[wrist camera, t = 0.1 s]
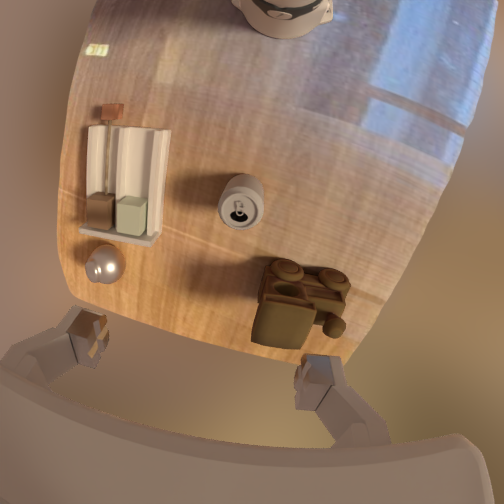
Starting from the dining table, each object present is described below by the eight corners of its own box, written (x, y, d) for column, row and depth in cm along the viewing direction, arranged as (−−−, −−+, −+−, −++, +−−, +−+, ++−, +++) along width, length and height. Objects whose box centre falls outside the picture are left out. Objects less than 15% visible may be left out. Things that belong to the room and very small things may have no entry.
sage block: (127, 195, 56) (116, 203, 52) (149, 198, 56) (140, 207, 52) (126, 222, 59) (117, 231, 54) (148, 226, 59) (139, 236, 54)
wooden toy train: (252, 294, 68) (248, 346, 53) (263, 251, 63) (262, 298, 48) (333, 309, 69) (347, 359, 55) (350, 269, 64) (371, 316, 49)
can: (222, 205, 59) (212, 229, 48) (229, 169, 55) (220, 184, 45) (259, 213, 59) (258, 238, 48) (267, 177, 56) (268, 194, 45)
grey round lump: (100, 231, 62) (78, 251, 53) (134, 246, 64) (116, 269, 55) (95, 262, 66) (75, 284, 57) (127, 277, 68) (111, 301, 59)
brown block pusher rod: (107, 103, 49) (90, 104, 43) (129, 104, 49) (113, 104, 43) (102, 214, 60) (87, 226, 54) (121, 217, 60) (107, 230, 54)
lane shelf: (96, 124, 51) (78, 127, 45) (171, 129, 52) (159, 132, 46) (94, 220, 61) (79, 233, 55) (161, 232, 62) (150, 247, 56)
